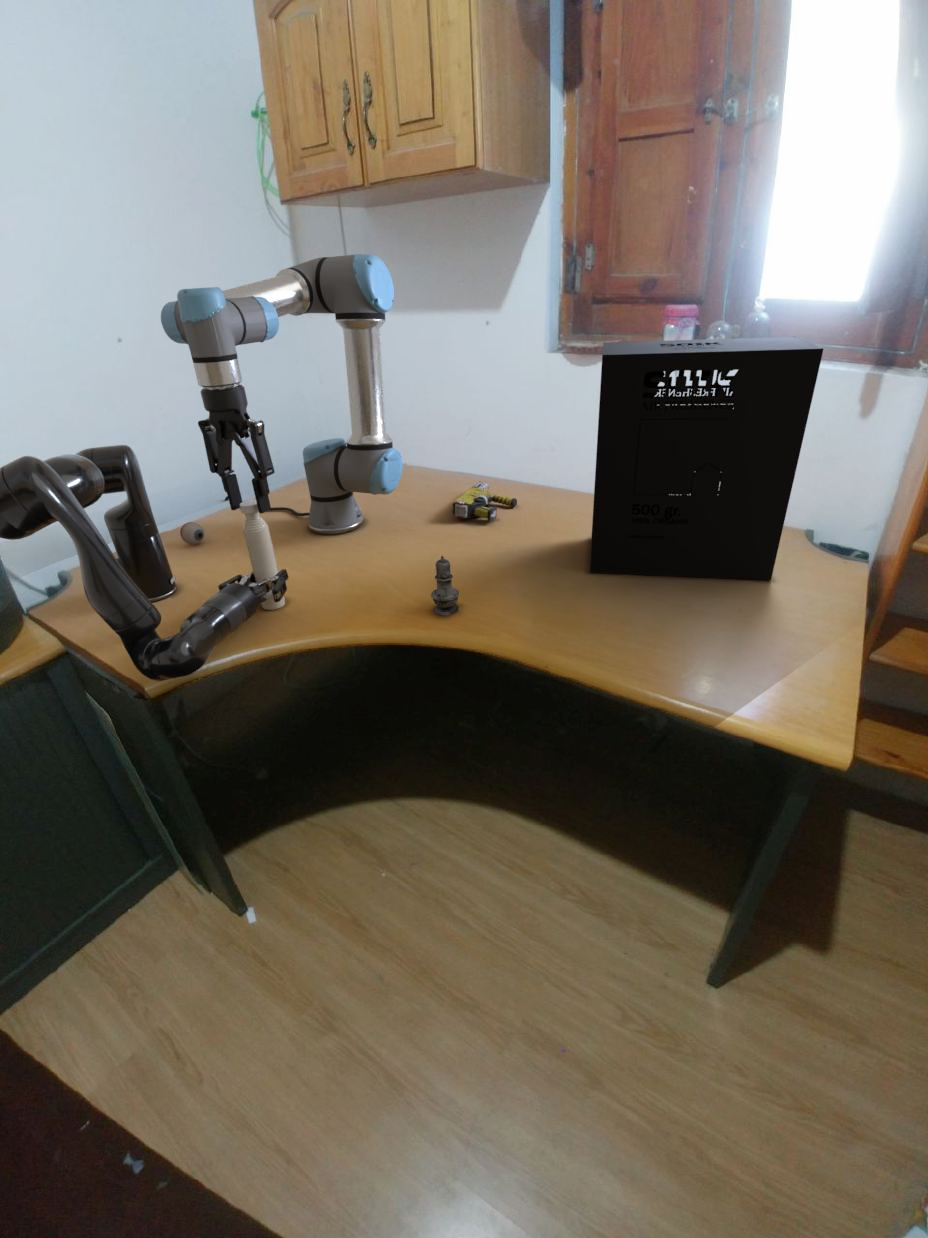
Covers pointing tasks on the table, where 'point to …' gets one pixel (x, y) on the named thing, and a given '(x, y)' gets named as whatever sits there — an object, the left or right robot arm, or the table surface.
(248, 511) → the cap
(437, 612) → the grey chess piece
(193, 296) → the right robot arm
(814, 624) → the table surface
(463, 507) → the toy gun
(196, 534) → the eyeball
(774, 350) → the cardboard box
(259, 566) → the bottle
